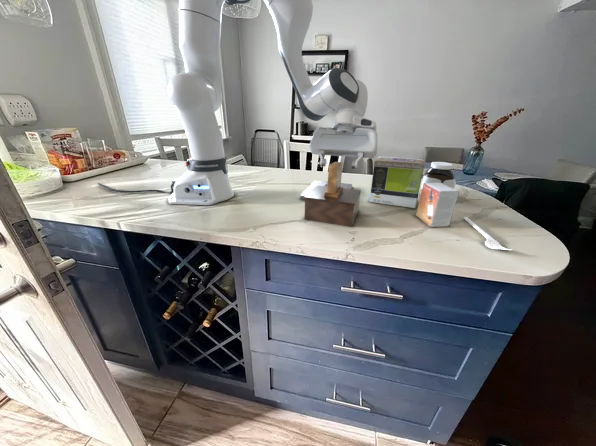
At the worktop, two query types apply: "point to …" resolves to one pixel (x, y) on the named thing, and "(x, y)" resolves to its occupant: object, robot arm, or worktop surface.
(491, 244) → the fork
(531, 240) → the worktop surface
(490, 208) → the worktop surface
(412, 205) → the tea box
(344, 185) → the play button award
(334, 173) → the wooden i-shaped block
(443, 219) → the small box
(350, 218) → the wooden box
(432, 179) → the spread jar
